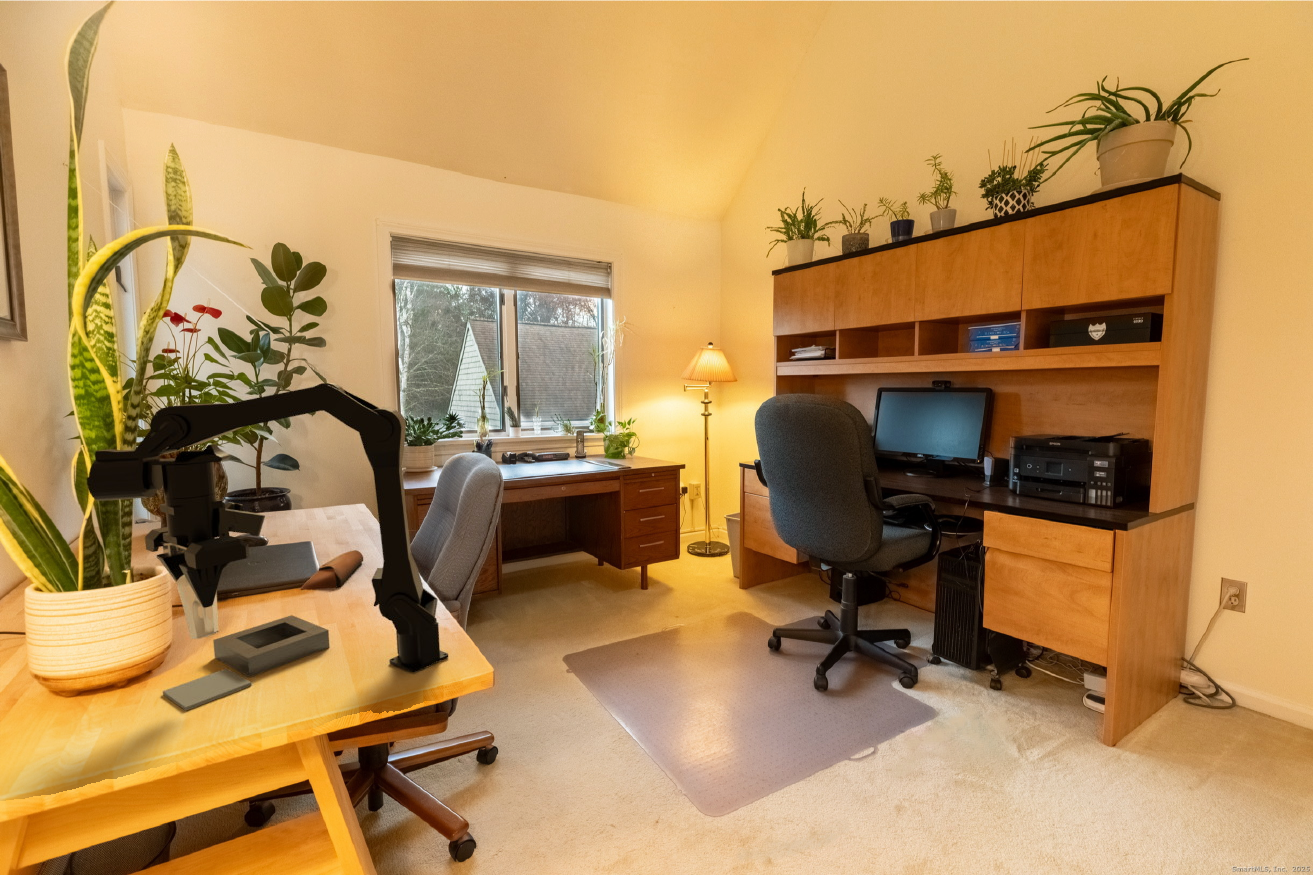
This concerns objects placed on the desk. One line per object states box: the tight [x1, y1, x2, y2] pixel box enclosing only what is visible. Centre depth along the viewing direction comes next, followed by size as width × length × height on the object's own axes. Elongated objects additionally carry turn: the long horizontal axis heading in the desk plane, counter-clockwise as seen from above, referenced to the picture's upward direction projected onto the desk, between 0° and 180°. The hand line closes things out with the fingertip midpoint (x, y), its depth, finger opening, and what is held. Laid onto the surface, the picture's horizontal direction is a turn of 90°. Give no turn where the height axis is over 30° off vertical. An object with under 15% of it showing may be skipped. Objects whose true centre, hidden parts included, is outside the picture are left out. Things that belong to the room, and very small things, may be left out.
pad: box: [162, 668, 252, 711], centre depth 88 cm, size 8×8×1 cm
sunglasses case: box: [300, 549, 364, 591], centre depth 139 cm, size 18×7×7 cm, turn 12°
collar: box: [212, 614, 330, 678], centre depth 99 cm, size 12×12×3 cm
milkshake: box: [175, 575, 220, 640], centre depth 86 cm, size 4×5×10 cm
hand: (201, 603), depth 87 cm, fingers closed on milkshake, 4 cm apart
